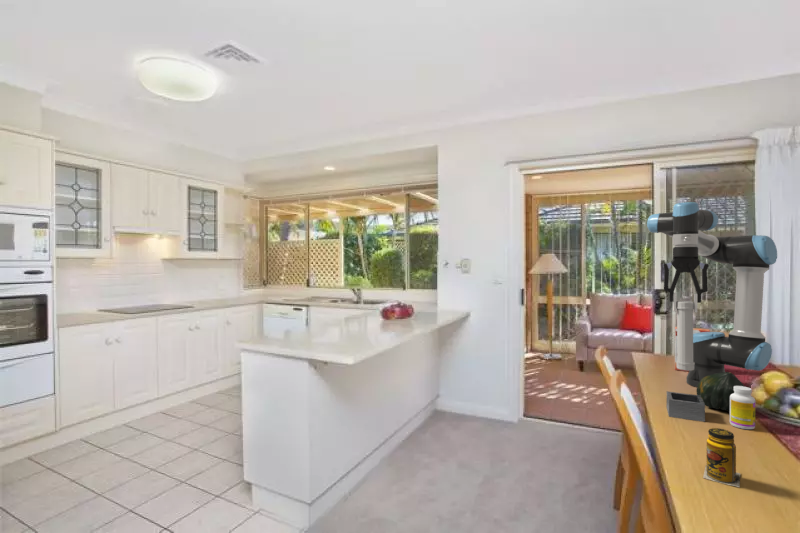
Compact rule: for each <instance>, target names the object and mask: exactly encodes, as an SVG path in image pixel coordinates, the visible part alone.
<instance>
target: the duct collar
mask: <svg viewBox="0 0 800 533" xmlns="http://www.w3.org/2000/svg"><path fill="white" fill-rule="evenodd" d="M666 411H667V414H668V415H667V416H668V417H669V418H676V419H681V420H682V419H683V420H688V421H696V422H706V406H705V404H704V402H703V400H702V398H701V396H700V395H697V394H693V393H692V394H691V393H684V392H674V391H666Z"/></svg>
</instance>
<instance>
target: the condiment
mask: <svg viewBox="0 0 800 533" xmlns="http://www.w3.org/2000/svg"><path fill="white" fill-rule="evenodd" d="M705 453H706V465H705V468H704V472H703V476H702V477H703V479H706V480H708V481H709V480H711V481H713V482H716V483H720V484H724V485H728V486H733V487H737V488H740V484H741V473H740V472H737V447H736V444H735V435H734V433H733V432H731V431H729V430H728V429H724V428H719V427H718V428H717V427H712V428H709V429H708V435H707V439H706V452H705Z"/></svg>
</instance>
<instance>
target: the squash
mask: <svg viewBox="0 0 800 533" xmlns="http://www.w3.org/2000/svg"><path fill="white" fill-rule="evenodd" d="M734 386H744V387H746V386H745V385H744V383H743V382H742V381H741V380H740V379H739V378H738V377H737V376H736V375H735V374H734V373H732V372H731V371H725V372H721V373H717V374H712V375H708V376H706V377H704V378H703V379H702V380H701V381H700V382H699V384H698V385H697V387H696V395H700V396H701V398H702V400H703V402H704V404H705V407H707V408H713V409H716V410H719V409H720V410H722V411H726V412H728V413H730V395H731V394H733V393H734V390H733V389H734Z"/></svg>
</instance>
